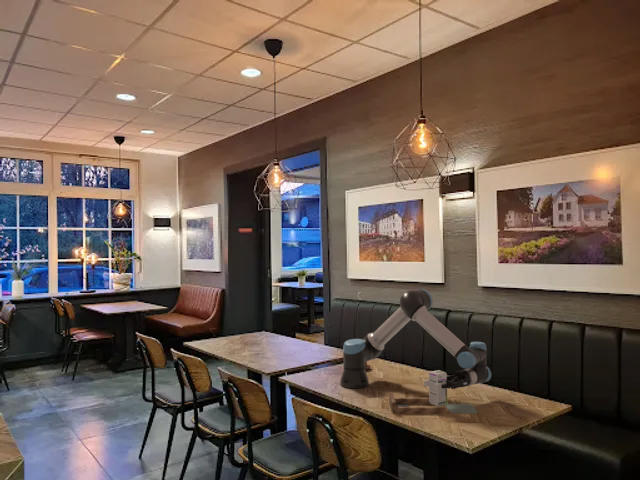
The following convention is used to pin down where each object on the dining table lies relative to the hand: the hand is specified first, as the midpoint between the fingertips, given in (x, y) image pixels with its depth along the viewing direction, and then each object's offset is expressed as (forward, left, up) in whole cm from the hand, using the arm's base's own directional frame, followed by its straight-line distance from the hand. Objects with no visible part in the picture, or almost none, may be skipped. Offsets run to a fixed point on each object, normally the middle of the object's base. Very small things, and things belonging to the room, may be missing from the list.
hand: (429, 385), depth 220 cm
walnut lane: (-5, +4, -11) cm, 13 cm away
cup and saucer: (-28, +78, -12) cm, 84 cm away
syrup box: (+4, +3, -9) cm, 11 cm away
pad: (+14, +4, -11) cm, 19 cm away
